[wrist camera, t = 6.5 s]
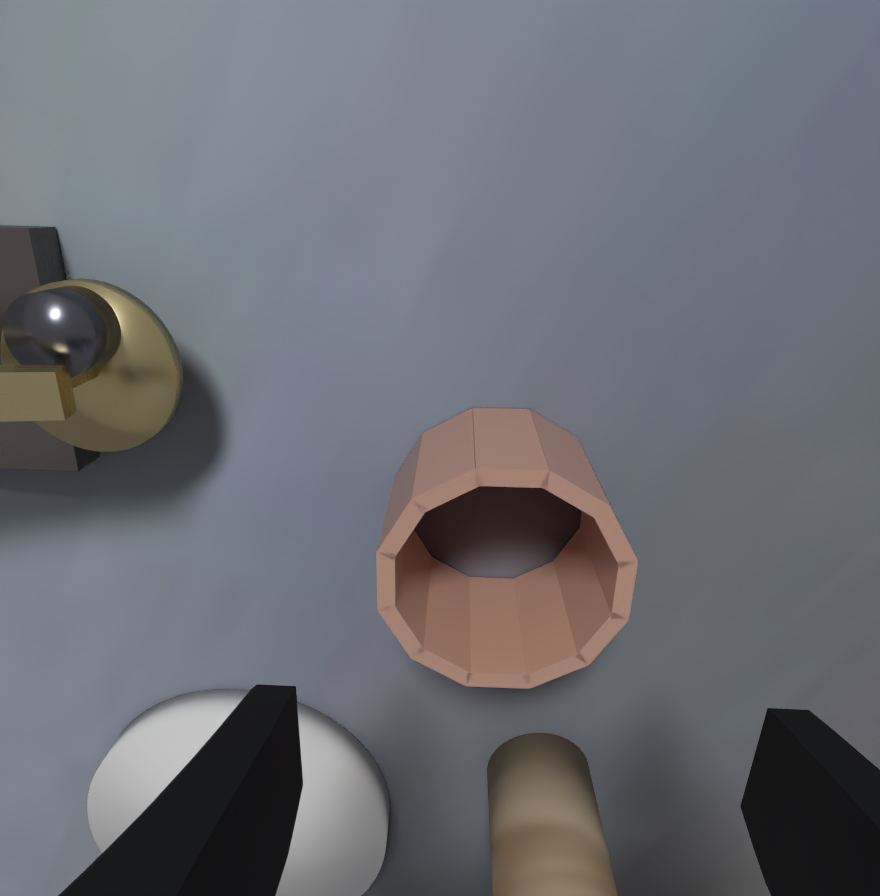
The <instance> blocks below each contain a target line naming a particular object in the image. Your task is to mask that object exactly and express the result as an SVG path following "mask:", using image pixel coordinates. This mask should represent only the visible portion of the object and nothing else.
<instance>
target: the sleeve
mask: <svg viewBox="0 0 880 896" xmlns="http://www.w3.org/2000/svg"><path fill="white" fill-rule="evenodd" d="M479 486H494V487H526V488H544V489H545V490H547V491H549V492H551V493H552V494H554V495H556V496H557V497H559V498H561V499H563V500H564V501H566V502H568V503H569V504H571V505H573V506H575V507H576V508H578V509H580V510H582V512H581V520H580V528H579V529H578V530H577V532H576V533H575V534H574V535H573V537H572V538H571V539H570V540H569V542H568V543H567V544H566V546H565V547H564V548H563V549H562V551H561V552H560V553H559V554H558V556H557V557H556V558H555V559H554V561H552V562H550V563H548V564H545V565H543V566H541V567H538V568H536V569H534V570H532V571H529V572H527V573H525V574H523V575H520V576H518V577H516V578H513V579H511V578H483V577H468V576H466V575H465V574H463V573H461V572H459V571H457V570H455V569H453V568H452V567H450V566H448V565H446V564H444V563H442V562H440V561H439V560H437V559H435V558H433V557H431V555H430V553H429V552H428V550H427V549H426V547H425V545H424V544H423V542H422V541H421V539H420V538H419V536H418V534H417V533H416V531H415V530H414V528H415V527H416V525H417V524H418V522H419V521H420V519H421V518H422V516H423V515H424V513H425V512H427V511H429V510H431V509H433V508H435V507H437V506H439V505H441V504H443V503H446V502H448V501H450V500H452V499H454V498H456V497H458V496H460V495H462V494H464V493H466V492H468V491H471V490H473V489H475V488H477V487H479ZM376 558H377V606H378V612H379V613H380V615H381V616H382V618H383V619H384V620H385V622H386V623H387V625H388V626H389V628H390V629H391V631H392V632H393V633H394V635H395V636H396V638H397V639H398V641H399V642H400V644H401V645H402V646H403V648H404V649H405V651H406V652H407V654H408V655H409V657H410V658H411V659H413V660H415V661H417V662H419V663H421V664H423V665H425V666H427V667H429V668H431V669H433V670H435V671H437V672H439V673H441V674H443V675H445V676H447V677H449V678H450V679H452V680H454V681H456V682H458V683H460V684H462V685H464V686H472V687H497V688H523V689H529V688H533V687H535V686H538V685H540V684H543V683H546V682H548V681H551V680H553V679H556V678H558V677H561V676H563V675H566V674H568V673H571V672H573V671H576V670H578V669H581V668H583V667H586V666H588V665H589V664H590V663H591V662H592V661H593V660H594V659H595V658H596V656H597V655H598V654H599V653H600V652H601V651H602V650H603V649H604V647H605V646H606V645H607V644H608V643H609V642H610V641H611V639H612V638H613V637H614V636H615V635H616V634H617V633H618V632H619V630H620V629H621V628H622V627H623V626H624V625H625V624H626V622H627V621H628V619H629V616H630V609H631V603H632V597H633V590H634V584H635V578H636V571H637V565H638V560H637V558H636V556H635V554H634V552H633V550H632V548H631V546H630V544H629V542H628V540H627V538H626V536H625V534H624V532H623V530H622V528H621V526H620V524H619V522H618V520H617V517H616V515H615V513H614V511H613V509H612V507H611V505H610V503H609V501H608V499H607V497H606V495H605V493H604V491H603V489H602V487H601V485H600V483H599V481H598V479H597V477H596V475H595V473H594V471H593V469H592V467H591V465H590V463H589V461H588V459H587V457H586V455H585V453H584V451H583V449H582V447H581V445H580V443H579V441H578V439H577V438H576V437H575V436H573V435H572V434H570V433H568V432H567V431H565V430H563V429H562V428H560V427H558V426H557V425H555V424H553V423H552V422H550V421H548V420H547V419H545V418H543V417H542V416H540V415H538V414H537V413H535V412H533V411H532V410H529V409H500V408H473V409H472V408H471V409H469V410H467V411H465V412H463V413H461V414H459V415H457V416H455V417H453V418H451V419H449V420H447V421H445V422H443V423H441V424H440V425H438V426H436V427H434V428H432V429H430V430H428V431H426V432H424V433H422V435H421V437H420V438H419V440H418V441H417V443H416V444H415V446H414V448H413V449H412V451H411V452H410V454H409V455H408V457H407V459H406V460H405V462H404V463H403V465H402V466H401V468H400V470H399V471H398V473H397V474H396V476H395V479H394V483H393V488H392V492H391V496H390V500H389V504H388V508H387V512H386V516H385V520H384V524H383V528H382V532H381V536H380V540H379V544H378V548H377V552H376Z"/></svg>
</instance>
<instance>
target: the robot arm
mask: <svg viewBox="0 0 880 896" xmlns="http://www.w3.org/2000/svg"><path fill="white" fill-rule="evenodd" d="M302 788H303V775H302V762H301V749H300V736H299V722H298V709H297V696H296V686H277V685H256V686H255V687H253V688H252V689H251V690H250V691H249V692H248V693H247V695H246V696H245V697H244V698H243V699H242V701H241V702H240V703H239V704H238V705H237V707H236V708H235V709H234V710H233V711H232V713H231V714H230V715H229V716H228V717H227V719H226V720H225V721H224V722H223V723H222V725H221V726H220V727H219V728H218V729H217V730H216V732H215V733H214V734H213V735H212V736H211V737H210V739H209V740H208V741H207V742H206V743H205V744H204V745H203V747H202V748H201V749H200V750H199V751H198V752H197V754H196V755H195V756H194V757H193V758H192V759H191V760H190V761H189V763H188V764H187V765H186V766H185V767H184V768H183V769H182V770H181V771H180V772H179V774H178V775H177V776H176V777H175V778H174V779H173V780H172V781H171V782H170V783H169V784H168V786H167V787H166V788H165V789H164V790H163V791H162V792H161V793H160V794H159V795H158V797H157V798H156V799H155V800H154V801H153V802H152V803H151V804H150V805H149V806H148V807H147V808H146V809H145V810H144V811H143V813H142V814H141V815H140V816H139V817H138V818H137V819H136V820H135V821H134V822H133V823H132V824H131V825H130V826H129V827H128V828H127V829H126V830H125V831H124V832H123V833H122V834H121V835H120V836H119V837H118V838H117V839H116V840H115V841H114V842H113V843H112V844H111V845H110V846H109V847H108V848H107V849H106V850H105V851H104V852H103V853H102V854H101V855H100V856H99V857H98V858H97V859H96V860H95V861H94V862H93V863H92V864H91V865H90V866H89V867H88V868H87V869H86V870H85V871H84V872H83V873H82V874H81V875H80V876H79V877H78V878H76V879H75V880H74V881H73V882H72V883H71V884H70V885H69V886H68V887H67V888H66V889H65V890H64V891H63V892H62V893H61V894H60V895H58V896H275V895H276V892H277V889H278V886H279V883H280V880H281V877H282V873H283V870H284V867H285V864H286V860H287V857H288V853H289V849H290V844H291V840H292V835H293V831H294V826H295V821H296V817H297V812H298V807H299V802H300V797H301V792H302ZM741 809H742V813H743V816H744V819H745V822H746V825H747V829H748V832H749V835H750V838H751V841H752V844H753V848H754V850H755V853H756V856H757V859H758V862H759V865H760V868H761V871H762V874H763V877H764V879H765V882H766V885H767V887H768V889H769V891H770V894H771V896H880V770H879V769H878V768H877V767H876V766H874V765H873V764H872V763H871V762H870V761H869V760H867V759H866V758H865V757H864V756H863V755H862V754H861V753H859V752H858V751H857V750H856V749H855V748H854V747H852V746H851V745H850V744H849V743H848V742H847V741H845V740H844V739H843V738H842V737H841V736H839V735H838V734H837V733H836V732H835V731H834V730H832V729H831V728H830V727H829V726H828V725H826V724H825V723H824V722H823V721H821V720H820V719H819V718H818V717H817V716H815V715H814V714H813V713H812V712H810V711H809V710H795V709H773V708H768V709H767V712H766V716H765V720H764V723H763V727H762V730H761V734H760V738H759V741H758V745H757V749H756V752H755V756H754V759H753V763H752V767H751V770H750V774H749V777H748V781H747V785H746V788H745V792H744V796H743V799H742V803H741Z"/></svg>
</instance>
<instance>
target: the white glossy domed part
mask: <svg viewBox="0 0 880 896" xmlns="http://www.w3.org/2000/svg"><path fill="white" fill-rule="evenodd" d="M248 692H249V691H248V690H237V689H214V690H206V691H197V692H192V693H188V694H184V695H179V696H176V697H173V698H171V699H168V700H165V701H163V702H160V703H158V704H157V705H155V706H153V707H151V708H149V709H147V710H146V711H144V712H143V713H142V714H140V715H139V716H138V717H136V718H135V719H134V720H133V721H132V722H131V723H130V724H129V725H128V726H127V727H126V728H125V729H124V730H123V731H122V733H121V734H120V736H119V737H118V739H117V740H116V742H115V743H114V745H113V746H112V748H111V749H110V751H109V753H108V754H107V756H106V757H105V759H104V760H103V762H102V763H101V765H100V766H99V768H98V770H97V771H96V773H95V775H94V778H93V780H92V782H91V785H90V789H89V794H88V803H87V813H88V819H89V825H90V828H91V831H92V834H93V837H94V840H95V842H96V843H97V845H98V847H99V849H100V851H101V853H103V852H104V851H105V850H106V849H107V848H108V847H109V846H110V845H111V844H112V843H113V842H114V841H115V840H116V839H117V838H118V837H119V836H120V835H121V834H122V833H123V832H124V831H125V830H126V829H127V828H128V827H129V826H130V825H131V824H132V823H133V822H134V821H135V820H136V819H137V818H138V817H139V816H140V815H141V814H142V813H143V811H144V810H145V809H146V808H147V807H148V806H149V805H150V804H151V803H152V802H153V801H154V800H155V799H156V798H157V797H158V795H159V794H160V793H161V792H162V791H163V790H164V789H165V788H166V787H167V786H168V784H169V783H170V782H171V781H172V780H173V779H174V778H175V777H176V776H177V775H178V774H179V772H180V771H181V770H182V769H183V768H184V767H185V766H186V765H187V764H188V763H189V761H190V760H191V759H192V758H193V757H194V756H195V755H196V754H197V752H198V751H199V750H200V749H201V748H202V747H203V745H204V744H205V743H206V742H207V741H208V740H209V739H210V737H211V736H212V735H213V734H214V733H215V732H216V730H217V729H218V728H219V727H220V726H221V725H222V723H223V722H224V721H225V720H226V719H227V717H228V716H229V715H230V714H231V713H232V711H233V710H234V709H235V708H236V707H237V705H238V704H239V703H240V702H241V701H242V699H243V698H244V697H245V696H246V695H247V693H248ZM297 709H298V722H299V736H300V749H301V762H302V775H303V788H302V792H301V797H300V802H299V807H298V812H297V817H296V821H295V826H294V831H293V835H292V840H291V844H290V849H289V853H288V857H287V860H286V864H285V867H284V870H283V873H282V877H281V880H280V883H279V886H278V889H277V892H276V895H275V896H362V895H363V894H364V893H365V892H366V891H367V890H368V888H369V887H370V886H371V884H372V883H373V882H374V880H375V879H376V877H377V875H378V873H379V871H380V869H381V867H382V863H383V860H384V856H385V851H386V842H387V834H388V825H389V815H390V801H389V793H388V790H387V786H386V782H385V779H384V777H383V775H382V773H381V771H380V769H379V767H378V765H377V764H376V762H375V760H374V759H373V757H372V756H371V754H370V753H369V752H368V751H367V750H366V748H365V747H364V746H363V745H362V744H361V743H360V742H359V741H358V740H357V739H356V738H355V737H354V736H353V735H352V734H351V733H349V732H348V731H347V730H346V729H345V728H343V727H342V726H341V725H339V724H338V723H336V722H335V721H333V720H332V719H331V718H329V717H327V716H325V715H323V714H322V713H320V712H318V711H316V710H314V709H312V708H310V707H307V706H305V705H303V704H300V703H298V702H297Z"/></svg>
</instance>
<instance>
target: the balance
mask: <svg viewBox="0 0 880 896" xmlns="http://www.w3.org/2000/svg"><path fill="white" fill-rule="evenodd" d="M182 391H183V368H182V363H181V358H180V355H179V352H178V349H177V346H176V344H175V342H174V340H173V338H172V336H171V334H170V332H169V331H168V329H167V328H166V326H165V325H164V323H163V322H162V321H161V320H160V318H159V317H158V316H157V315H156V314H155V313H154V312H153V311H152V310H151V309H150V308H149V307H148V306H147V305H146V304H145V303H143V302H142V301H141V300H140V299H138V298H137V297H135V296H134V295H132V294H131V293H129V292H127V291H125V290H123V289H121V288H119V287H117V286H114V285H112V284H109V283H106V282H102V281H97V280H91V279H69V280H65V275H64V270H63V265H62V260H61V254H60V249H59V244H58V239H57V234H56V228H55V227H40V226H3V225H0V469H28V470H56V471H80V470H81V469H83V468H84V467H85V466H87V465H88V464H90V463H91V462H93V461H94V460H95V459H97V458H98V457H99V453H98V451H100V452H116V451H122V450H127V449H130V448H133V447H136V446H138V445H140V444H142V443H144V442H146V441H147V440H149V439H150V438H152V437H153V436H154V435H156V434H157V433H158V432H160V431H161V430H162V429H163V428H164V427H165V426H166V425H167V424H168V423H169V421H170V420H171V419H172V418H173V416H174V414H175V412H176V411H177V408H178V406H179V403H180V400H181V396H182Z"/></svg>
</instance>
